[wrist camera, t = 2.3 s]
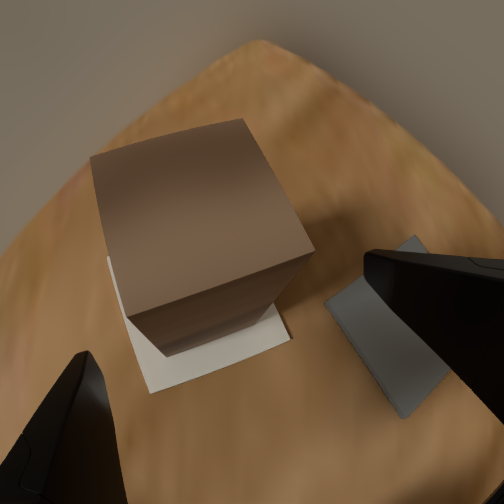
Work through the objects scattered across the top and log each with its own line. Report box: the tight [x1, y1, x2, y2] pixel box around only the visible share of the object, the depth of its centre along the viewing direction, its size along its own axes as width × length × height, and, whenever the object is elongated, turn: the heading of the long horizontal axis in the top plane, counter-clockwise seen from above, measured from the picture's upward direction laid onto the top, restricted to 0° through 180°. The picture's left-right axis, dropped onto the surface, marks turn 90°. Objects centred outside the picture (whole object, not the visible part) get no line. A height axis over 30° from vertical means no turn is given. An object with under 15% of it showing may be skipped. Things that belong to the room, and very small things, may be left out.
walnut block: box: [90, 118, 316, 357], centre depth 14 cm, size 6×6×11 cm
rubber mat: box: [324, 235, 451, 419], centre depth 21 cm, size 10×10×1 cm
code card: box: [107, 256, 290, 394], centre depth 20 cm, size 9×9×1 cm
